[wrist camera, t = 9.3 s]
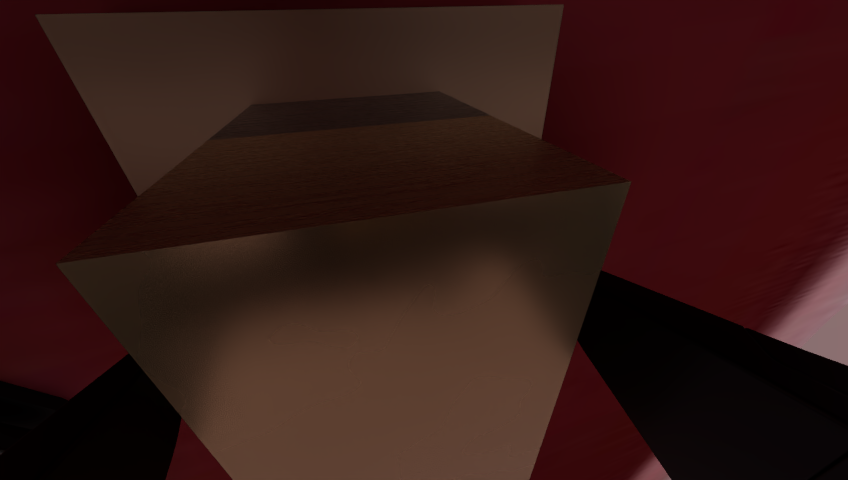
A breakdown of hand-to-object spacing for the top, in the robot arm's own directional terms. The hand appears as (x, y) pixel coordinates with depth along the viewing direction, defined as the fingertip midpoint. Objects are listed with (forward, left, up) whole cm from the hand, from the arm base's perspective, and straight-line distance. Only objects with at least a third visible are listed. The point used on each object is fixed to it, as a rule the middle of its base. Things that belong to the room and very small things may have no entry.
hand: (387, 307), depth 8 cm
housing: (0, 0, -4) cm, 4 cm away
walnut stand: (0, 0, -6) cm, 6 cm away
